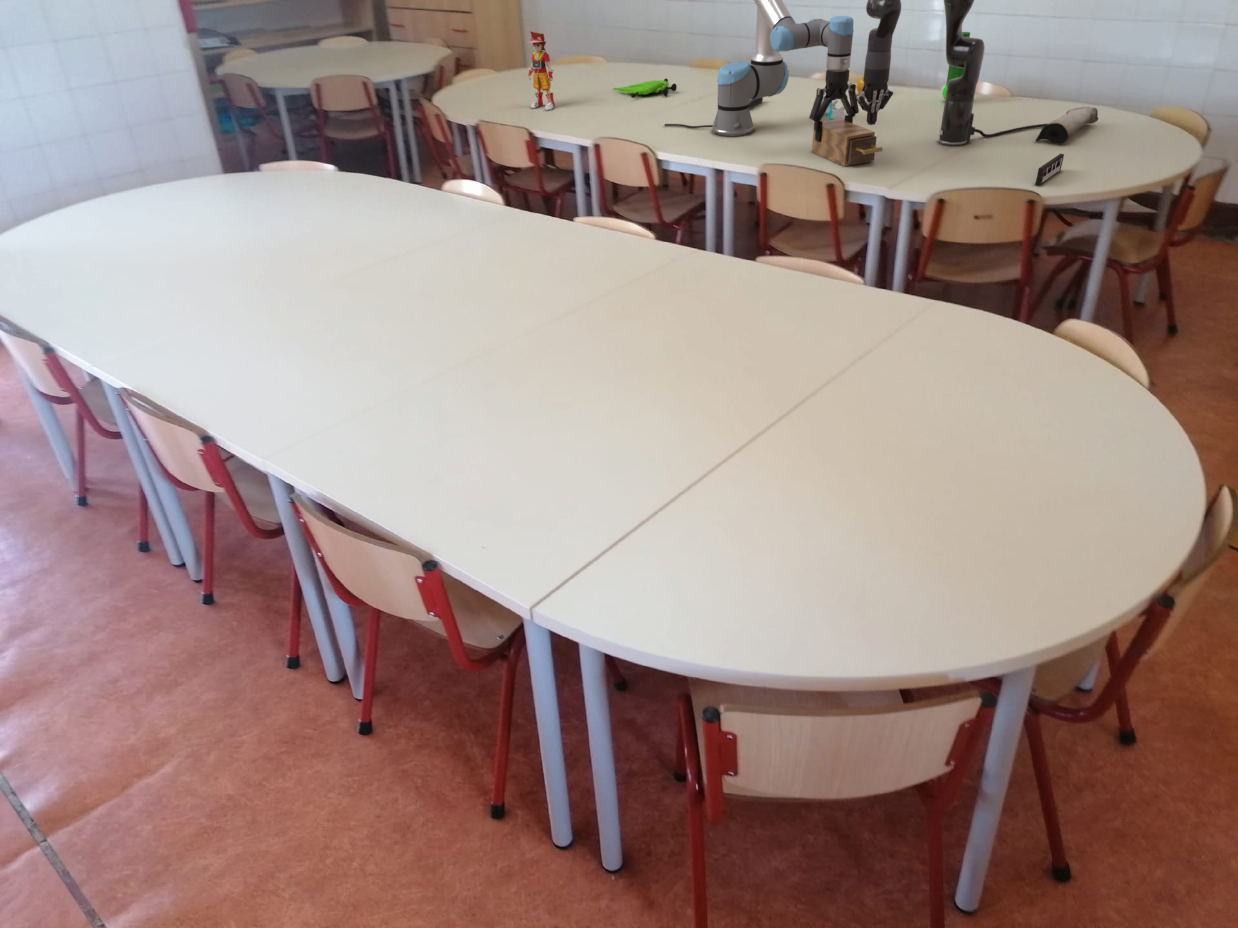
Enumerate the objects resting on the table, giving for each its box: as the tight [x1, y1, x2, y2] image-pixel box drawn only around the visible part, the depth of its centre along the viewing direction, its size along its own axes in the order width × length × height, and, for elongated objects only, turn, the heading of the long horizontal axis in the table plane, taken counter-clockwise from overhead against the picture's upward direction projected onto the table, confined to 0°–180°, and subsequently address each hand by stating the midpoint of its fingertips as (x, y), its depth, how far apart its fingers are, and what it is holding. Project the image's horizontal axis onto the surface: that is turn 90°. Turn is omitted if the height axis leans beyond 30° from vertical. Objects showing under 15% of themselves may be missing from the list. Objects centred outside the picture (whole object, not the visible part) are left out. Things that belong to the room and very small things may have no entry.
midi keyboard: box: [1035, 153, 1065, 186], centre depth 273 cm, size 18×1×5 cm, turn 138°
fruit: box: [856, 76, 864, 95], centre depth 370 cm, size 8×8×8 cm
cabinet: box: [811, 119, 876, 167], centre depth 301 cm, size 20×11×10 cm, turn 22°
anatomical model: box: [821, 93, 845, 121], centre depth 342 cm, size 15×10×10 cm
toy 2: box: [612, 78, 677, 99], centre depth 396 cm, size 28×5×30 cm
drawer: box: [847, 135, 883, 166], centre depth 297 cm, size 24×9×8 cm, turn 22°
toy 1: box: [527, 31, 556, 111], centre depth 374 cm, size 12×9×30 cm
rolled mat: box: [1035, 106, 1099, 146], centre depth 310 cm, size 30×9×10 cm
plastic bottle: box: [942, 31, 971, 100], centre depth 348 cm, size 10×10×25 cm
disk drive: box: [749, 97, 764, 110], centre depth 367 cm, size 10×3×15 cm
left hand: (832, 138), depth 306 cm, fingers closed on cabinet, 11 cm apart
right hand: (871, 124), depth 285 cm, fingers closed
